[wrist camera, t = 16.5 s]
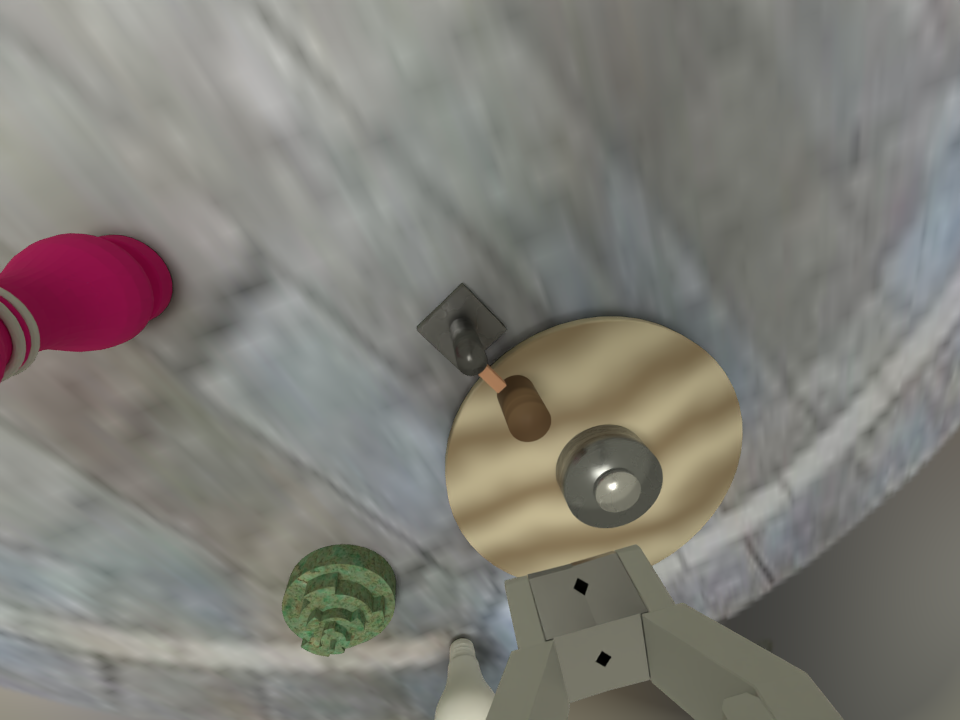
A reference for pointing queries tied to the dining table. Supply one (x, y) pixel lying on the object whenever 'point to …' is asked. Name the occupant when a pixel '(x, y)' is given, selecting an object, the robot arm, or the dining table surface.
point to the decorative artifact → (339, 598)
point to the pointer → (464, 334)
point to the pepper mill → (77, 296)
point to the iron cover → (608, 476)
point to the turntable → (574, 408)
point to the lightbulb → (464, 686)
